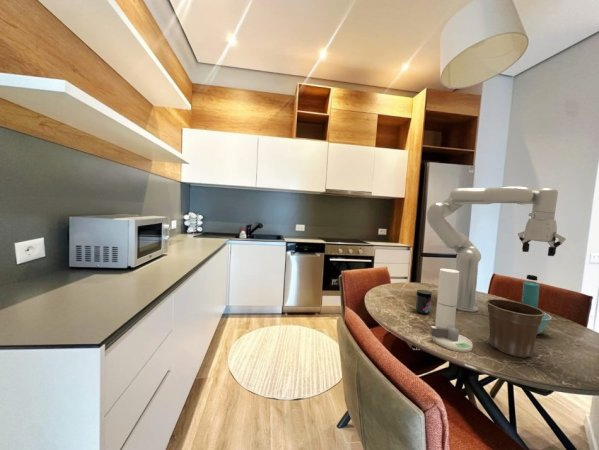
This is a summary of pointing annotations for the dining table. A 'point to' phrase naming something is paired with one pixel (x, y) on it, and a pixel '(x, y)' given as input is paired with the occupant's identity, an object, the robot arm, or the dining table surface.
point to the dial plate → (454, 343)
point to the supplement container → (423, 302)
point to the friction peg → (445, 332)
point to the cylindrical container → (447, 298)
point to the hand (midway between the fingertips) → (537, 253)
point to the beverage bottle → (530, 292)
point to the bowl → (544, 323)
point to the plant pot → (513, 326)
